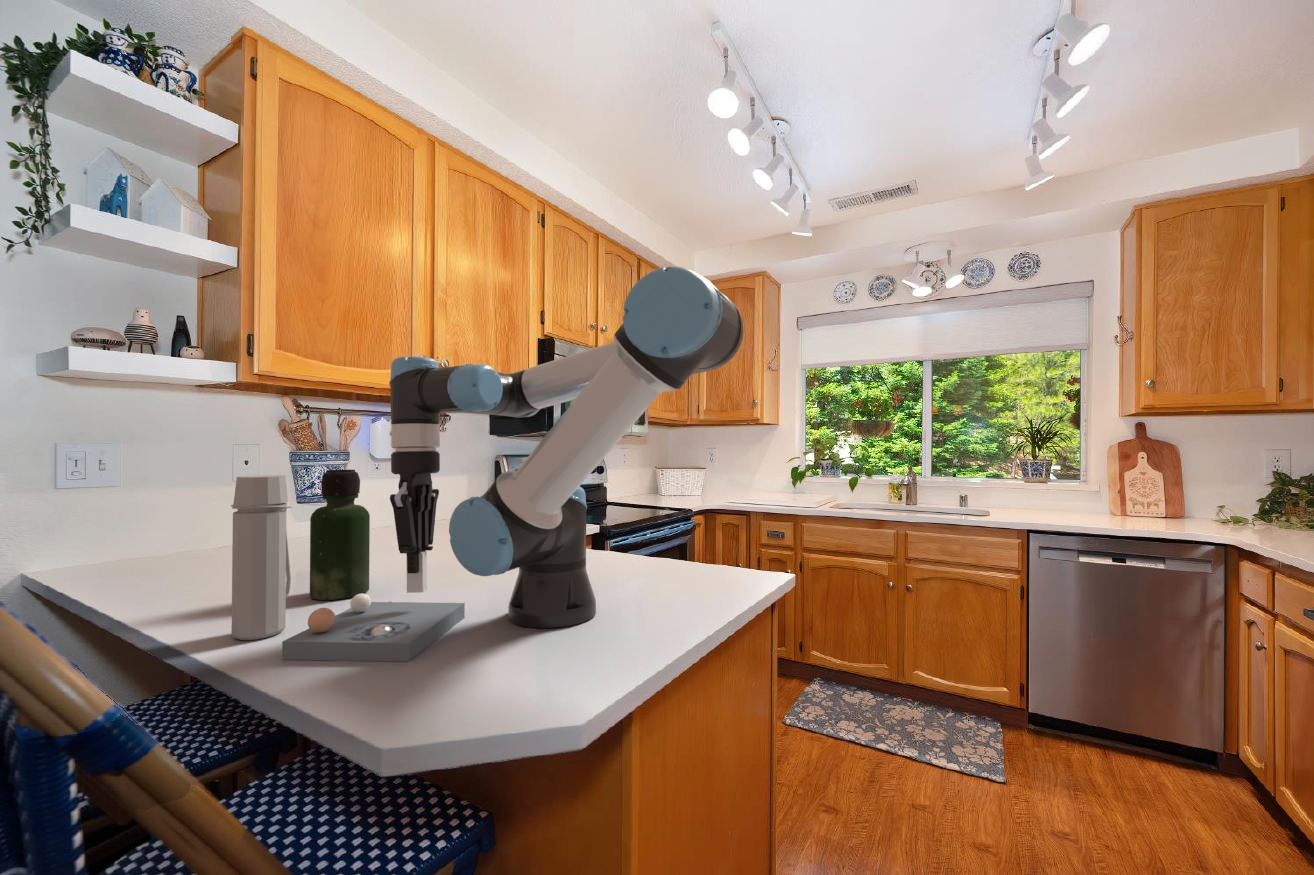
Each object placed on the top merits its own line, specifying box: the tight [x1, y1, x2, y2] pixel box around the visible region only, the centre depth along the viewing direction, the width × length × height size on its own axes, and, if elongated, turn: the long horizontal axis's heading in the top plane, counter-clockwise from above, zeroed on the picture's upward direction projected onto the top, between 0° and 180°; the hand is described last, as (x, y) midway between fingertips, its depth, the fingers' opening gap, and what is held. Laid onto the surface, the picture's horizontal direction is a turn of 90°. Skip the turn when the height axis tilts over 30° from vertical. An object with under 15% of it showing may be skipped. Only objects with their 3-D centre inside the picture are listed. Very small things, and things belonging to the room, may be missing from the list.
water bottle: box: [230, 474, 292, 641], centre depth 90 cm, size 9×8×25 cm
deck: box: [281, 601, 466, 663], centre depth 88 cm, size 18×20×2 cm
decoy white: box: [350, 593, 372, 613], centre depth 92 cm, size 3×3×3 cm
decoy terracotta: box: [307, 607, 336, 633], centre depth 82 cm, size 4×4×4 cm
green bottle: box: [309, 469, 371, 601], centre depth 113 cm, size 10×10×25 cm
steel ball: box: [370, 624, 393, 636], centre depth 83 cm, size 3×3×3 cm
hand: (416, 591), depth 94 cm, fingers closed
